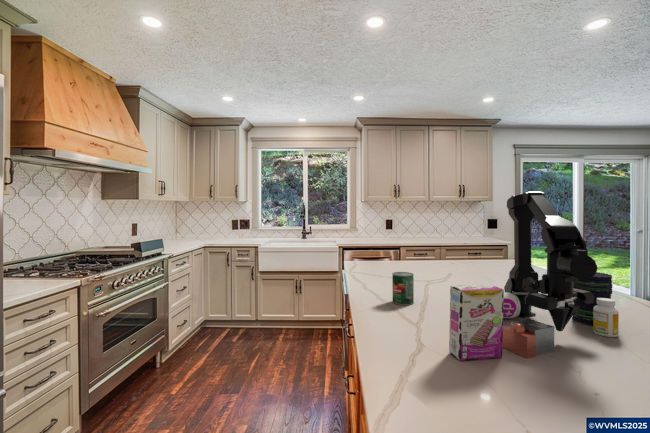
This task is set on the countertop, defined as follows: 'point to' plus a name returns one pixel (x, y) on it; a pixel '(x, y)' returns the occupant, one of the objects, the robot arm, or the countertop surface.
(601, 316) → the supplement bottle
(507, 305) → the supplement can
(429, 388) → the countertop surface
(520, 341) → the coupler rail
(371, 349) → the countertop surface
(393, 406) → the countertop surface
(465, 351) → the candy bar box
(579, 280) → the storage jar
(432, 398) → the countertop surface
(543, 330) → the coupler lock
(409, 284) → the canned tomato
